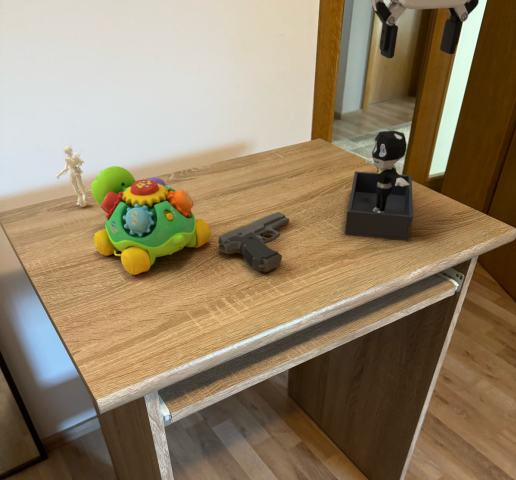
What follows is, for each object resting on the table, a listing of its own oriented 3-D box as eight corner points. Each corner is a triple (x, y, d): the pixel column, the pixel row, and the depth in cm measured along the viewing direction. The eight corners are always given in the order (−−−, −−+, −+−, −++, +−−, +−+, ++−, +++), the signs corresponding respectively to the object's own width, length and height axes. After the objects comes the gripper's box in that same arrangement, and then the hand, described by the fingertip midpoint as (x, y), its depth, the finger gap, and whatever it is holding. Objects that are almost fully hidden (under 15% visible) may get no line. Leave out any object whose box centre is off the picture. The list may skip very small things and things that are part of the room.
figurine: (61, 205, 98) (43, 145, 90) (91, 198, 101) (75, 138, 93) (69, 215, 95) (51, 153, 87) (99, 207, 97) (84, 146, 89)
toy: (348, 199, 98) (358, 121, 88) (376, 195, 99) (388, 117, 89) (380, 230, 88) (395, 146, 78) (410, 225, 89) (428, 141, 79)
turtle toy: (148, 207, 97) (137, 147, 89) (225, 249, 85) (220, 184, 77) (70, 237, 88) (51, 174, 81) (143, 289, 76) (129, 219, 68)
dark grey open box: (407, 196, 99) (411, 175, 96) (408, 240, 86) (413, 217, 83) (352, 192, 101) (354, 171, 98) (344, 234, 88) (347, 211, 85)
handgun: (327, 229, 85) (276, 206, 91) (263, 260, 75) (211, 233, 82) (325, 245, 87) (275, 222, 93) (262, 278, 77) (211, 250, 84)
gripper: (394, -104, 56) (372, 63, 68) (525, -105, 59) (483, 56, 71) (368, -102, 62) (352, 52, 73) (490, -103, 65) (456, 46, 76)
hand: (417, 54), depth 72 cm, fingers open, 9 cm apart
